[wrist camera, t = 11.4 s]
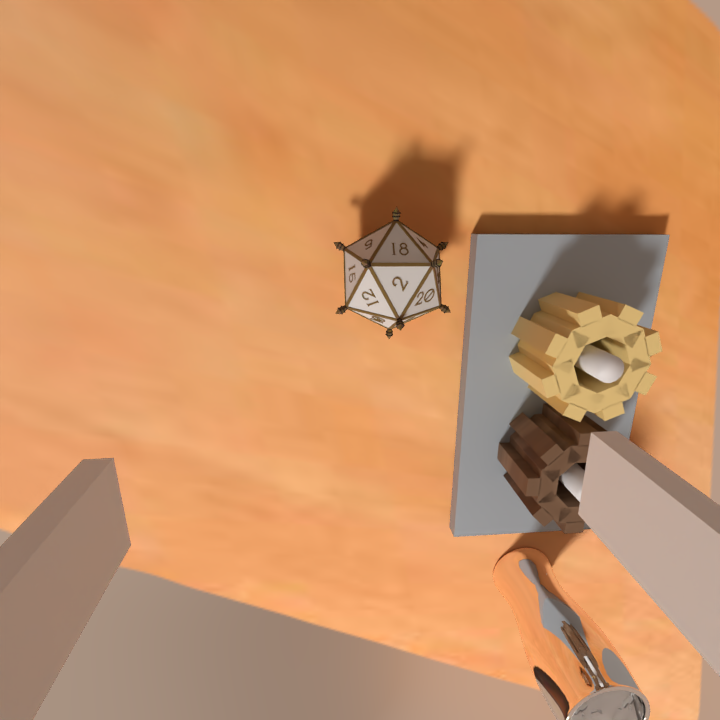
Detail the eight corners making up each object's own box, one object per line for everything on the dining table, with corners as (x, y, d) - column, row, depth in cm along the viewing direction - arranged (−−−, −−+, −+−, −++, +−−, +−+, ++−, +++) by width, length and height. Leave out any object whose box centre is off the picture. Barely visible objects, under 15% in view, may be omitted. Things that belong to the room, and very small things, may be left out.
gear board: (471, 233, 37) (514, 237, 29) (656, 234, 38) (747, 238, 30) (449, 526, 45) (478, 593, 37) (602, 518, 47) (662, 580, 39)
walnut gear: (502, 404, 40) (533, 435, 34) (599, 401, 41) (645, 431, 35) (493, 493, 43) (520, 536, 37) (584, 489, 44) (625, 529, 38)
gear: (496, 316, 38) (528, 334, 32) (598, 274, 37) (649, 284, 32) (525, 408, 40) (559, 439, 35) (620, 369, 40) (670, 394, 34)
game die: (392, 248, 40) (484, 211, 32) (395, 343, 40) (490, 330, 32) (304, 229, 35) (388, 179, 27) (306, 339, 35) (392, 321, 27)
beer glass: (561, 580, 49) (663, 730, 34) (502, 607, 49) (578, 767, 35) (540, 532, 46) (639, 671, 32) (478, 561, 47) (549, 711, 33)
